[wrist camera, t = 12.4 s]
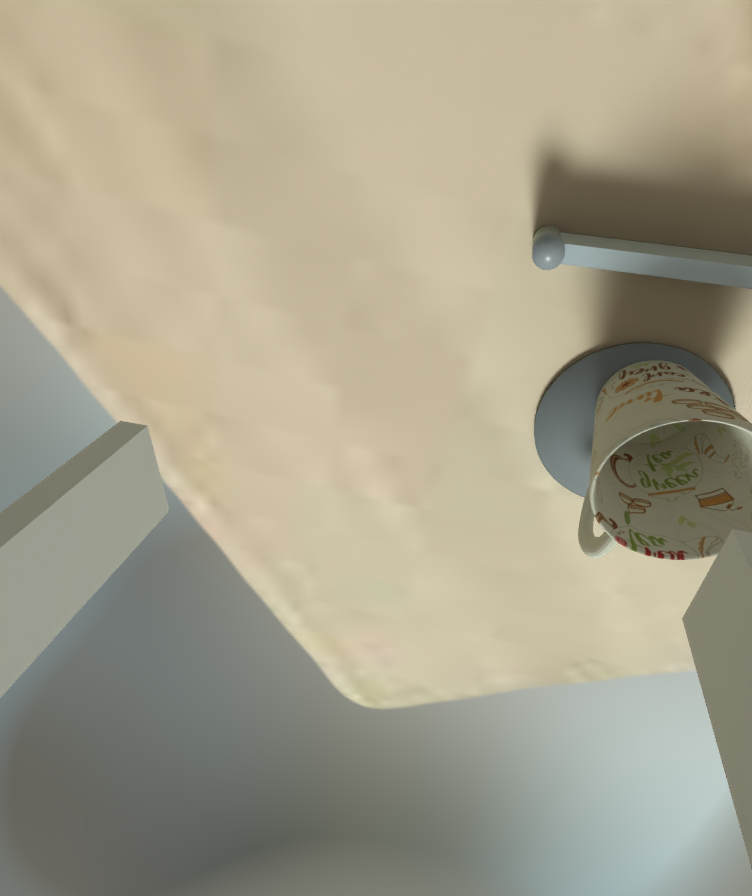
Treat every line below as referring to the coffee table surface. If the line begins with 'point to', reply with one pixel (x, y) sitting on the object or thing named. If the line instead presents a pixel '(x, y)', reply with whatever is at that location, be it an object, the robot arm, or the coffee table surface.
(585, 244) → the fence
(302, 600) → the coffee table surface
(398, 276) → the coffee table surface
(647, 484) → the mug
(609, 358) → the coaster
